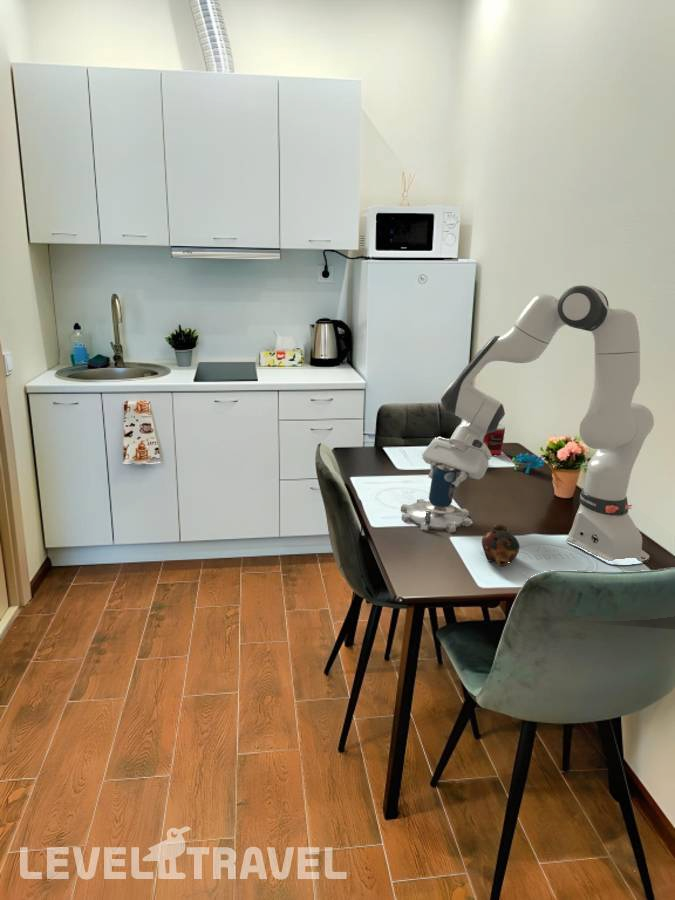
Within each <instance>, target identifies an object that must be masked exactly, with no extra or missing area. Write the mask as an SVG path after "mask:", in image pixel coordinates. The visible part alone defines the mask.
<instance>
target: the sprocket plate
mask: <svg viewBox="0 0 675 900" xmlns="http://www.w3.org/2000/svg"><path fill="white" fill-rule="evenodd" d="M400 511H401V512H405V513H402V514H401V521H403V522H404V523H407V522H412V523H413V524H415V525H417V526H419V527H420V528H419V530H421V531H429V529H431V530H439V531H441V530H442V531H444V530H446V531H447V532H448V533H449V534H451V533H455V532H456V530H457V529H458V528H460V527H462V526H464V525H465V527H468V526H469V527H470V526H471V525H472V519H470V518H467V517H469V510H468V509H466V508H458V507H457V506H454V505H452V503H451V504H450V505H449V506H448V507H446V508H440V507H436V506H433V505H432V504H431V503H430V501H426V500H425V499H423V498H420V499H418V498H417V499H416V502H415V503H411V504H405V503H403V504H402V505H401V506H400ZM461 525H462V526H461ZM457 527H458V528H457Z"/></svg>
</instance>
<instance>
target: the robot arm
mask: <svg viewBox="0 0 675 900" xmlns="http://www.w3.org/2000/svg"><path fill="white" fill-rule="evenodd" d="M564 326H568V327H571V328H573V329H574V328H575V329H579V330H582V331H587V332H591V333H592V336H593V341H594V381H593V389H592V394H591V398H590V400H589V401H590V402H589V404H588V405H589V406H588V409H587V412H586V414H585V415H584V417H583V418H582V420H581V421H580V424H579V427H578V428H579V429H578V430H579V436H580V438H581V440H582V442H583V443H584V444H585V445H586V446H587V447H589V448H590V449H594V450H596V451H595V452H594V454H593V455H592V457H591V458H590V459H589V462H588V463H587V468H586V473H585V478H584V479H585V480H584V485H583V487H582V489H581V491H580V493H579V500H578V501H579V507H578V509H577V511H576V514H575V516H574V520H573V523H572V527H571V529H570V531H569V533H568V536H567V537H566V541H568V542H570V543H572V544H575V545H577V546H579V547H581V548H583V549H585V550H587V551H588V552H591V553H592V554H594V555H596V556H599V557H601V558H603V559H605V560H608V561H613V560H615V559H625V558H636V559H637V560H638V561H644V560H647V559H649V557H651V556H650V555H649V553H647V552H646V551H644V550H643V549H642V548H643V536H642V534H641V532H640V528H638V527H637V526H636V524H635V523H634V521H633V519H632V518H631V516H630V514H629V510H631V509H632V508H633V507H632V506H633V505H632V504H629V503H628V497H627V493H628V488H629V482H630V479H631V474H632V471H633V468H634V465H635V464H636V463H635V462H636V460H637V458H638V456H639V454H640V451H641V449H642V446H643V445H644V442H645V440H646V438H647V437H648V435H649V434H651V431H652V430H653V428H654V424H655V420H654V419H655V417H654V415H653V413H652V411H651V410H650V408H648V407H647V406H645V405H643V404H640V403H637V402H636V403H634V402H632V401H633V398H634V394H635V392H636V390H637V388H638V386H639V385H640V380H641V341H640V340H641V339H640V332H639V327H638V322H637V318H636V316H635V314H634V313H633V312H631V311H629V310H627V309H624V308H623V309H621V308H619V309H618V308H617V309H615V308H610V307H609V300H608V297H607V296H606V294H605V293H604V292H602V291H601V290H600V289H597V288H596V287H594V286H591V285H584V284H583V285H574V286H572V287H570V288H568V289H566V290H565V291H564V292H563V293H562V294H561V295H560V298H559V297H555V296H553V295H551V294H545V293H542V294H537V295H535V296H534V297H533V298H532V299H531V300H530V301H529V302H528V303H527V305H526V306H525V307H524V308H523V310H522V311H521V312H520V313H519V315H518V316H517V318H516V319H515V321H514V323H513V325H512V326H511V327H510V329H508V330H507V331H506V332H505V333H503V334H501V335H494V336H493V337H492V338H490V339H488V340H487V342H486V344H485V345H484V346H482V348H481V349H480V350H479V351H478V352H477V354H475V355H474V356H473V358H472V360H471V361H470V362H469V363H467V366H466V367H464V368H463V370H462V372H461V373H460V374H459V376H457V377H456V378H455V379H454V380H453V381H452V382H451V383H450V384H448V385H447V387H445V389H444V390H443V393H442V395H441V398H440V401H441V405H442V408H443V409H444V412H446V413H449V414H451V415H454V416H456V417H459V418H460V419H461V422H460V423H459V425H458V426H456V428H455V430H454V432H453V433H452V435H451V437H450V438H445V437H442V436H438V437H434V438H433V439H432V441H431V442H430V443H429V445H427V447H426V448H425V450H424V451H423V452H422V454H421V456H422V459H423V461H424V463H426V464H427V465H428V464H429V465H430V471H429V474H428V477H429V478H430V479H432V474H433V470H434V468H435V467H436V464H438V463H443V465H447V466H448V467H452V468H455V470H456V473H457V474H460V475H459V476H458V477H456V479H455V478H454V479H453V481H452V482H451V484H452V485H453V486H455V487H454V488H457V487H459V485H460V483H462V482H464V481H465V480H467V478H468V477H469V478H472V479H474V480H480V479H482V478H484V476H485V474H486V473H487V470H488V467H489V466H490V465H489V464H490V463H489V461H490V460H491V458H492V456H491V453H490V451H489V449H488V447H487V446H486V444H485V443H483V438H484V436H485V434H488V433H491V432H494V431H496V429H497V427H498V424H500V422H501V420H502V419H503V418H504V416H505V414H506V413H505V408H504V404H503V403H501V402H500V401H499V400H498V399H496V398H494V397H492V396H490V395H489V394H487V393H484V392H483V391H481V390H479V389H477V388H476V387H474V386H473V385H472V382H473V380H474V379H475V378H476V377H477V376H478V375H479V374H480V372H481V371H482V370H483V369H484V368H485V366H487V365H489V363H491V362H507V363H512V364H513V363H514V364H527V363H532V362H534V361H536V360H537V359H539V358H540V357H541V355H543V354H544V351H545V350H546V349H547V348H548V346H549V345H550V342H551V341H552V340H553V338H554V336H555V335H556V333H557V332H558V331H559V330H560V328H562V327H564ZM641 557H642V558H645V559H642V558H641ZM649 560H650V559H649Z"/></svg>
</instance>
